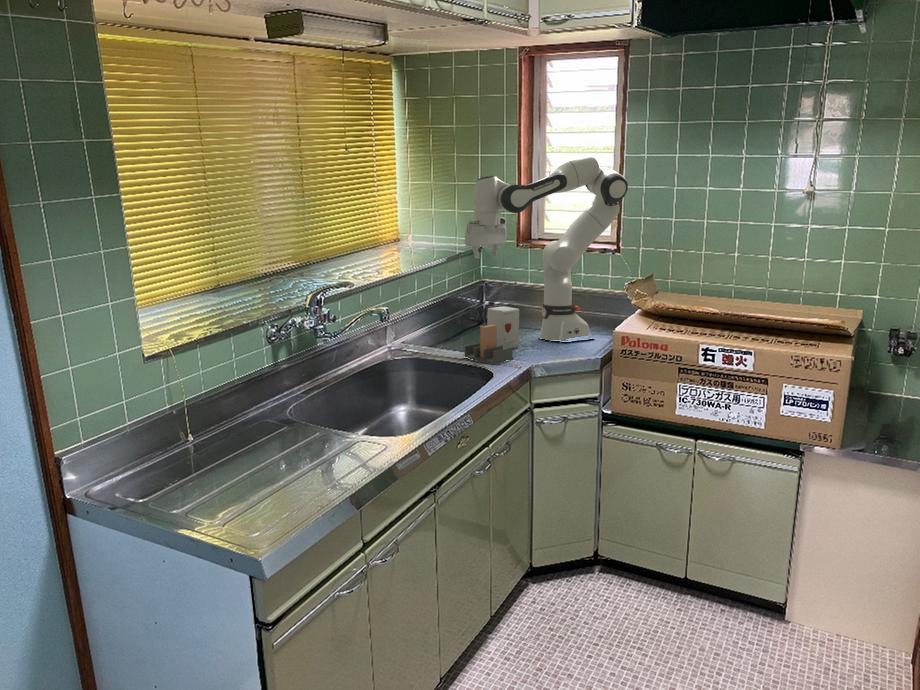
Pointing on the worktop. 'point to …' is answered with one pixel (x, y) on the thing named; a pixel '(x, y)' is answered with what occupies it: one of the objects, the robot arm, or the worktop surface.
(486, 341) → the tile
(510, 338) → the supplement box
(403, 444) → the worktop surface
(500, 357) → the dish rack
